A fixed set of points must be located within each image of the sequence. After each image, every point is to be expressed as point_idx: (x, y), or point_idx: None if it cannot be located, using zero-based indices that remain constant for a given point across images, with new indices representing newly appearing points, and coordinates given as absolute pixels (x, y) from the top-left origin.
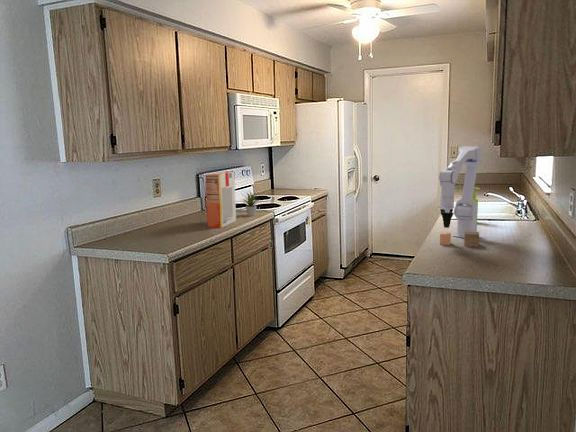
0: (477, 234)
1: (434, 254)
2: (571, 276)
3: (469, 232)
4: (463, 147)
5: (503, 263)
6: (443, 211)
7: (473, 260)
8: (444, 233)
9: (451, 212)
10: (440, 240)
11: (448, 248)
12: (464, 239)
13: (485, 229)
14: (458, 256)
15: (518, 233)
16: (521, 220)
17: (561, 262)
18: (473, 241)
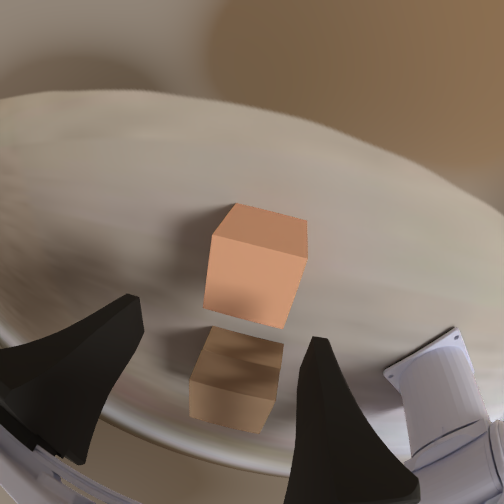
0: (190, 412)
1: (32, 154)
2: None
3: (231, 405)
4: None
5: (38, 333)
6: (315, 492)
7: (23, 276)
8: (240, 276)
9: (285, 501)
10: (227, 216)
11: (137, 235)
12: (273, 359)
13: None
14: (37, 245)
15: (404, 461)
16: None
17: (104, 420)
18: None
